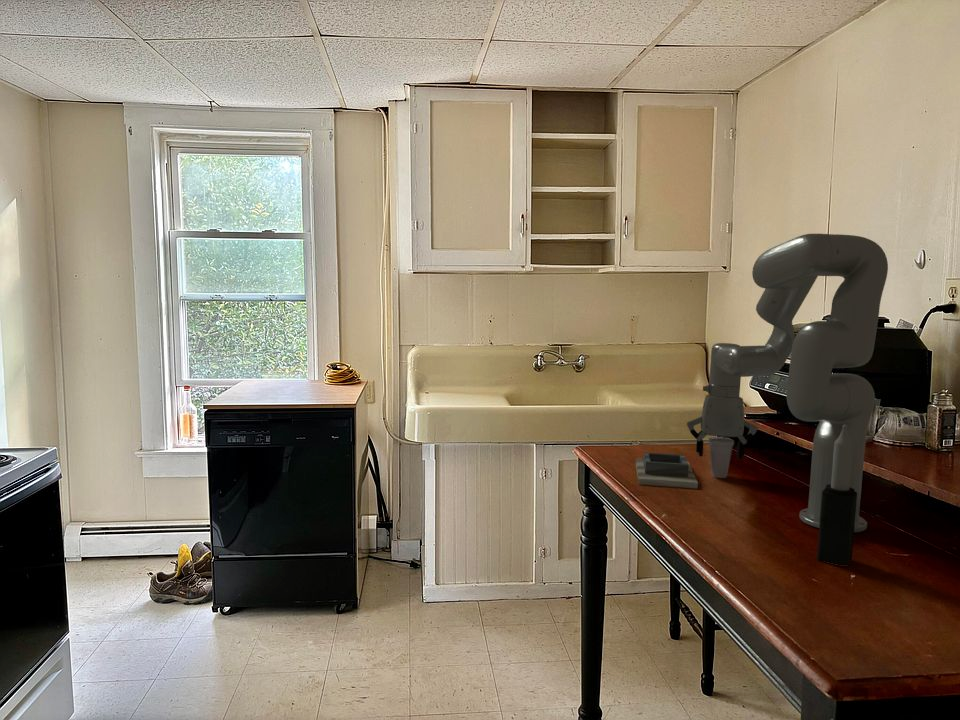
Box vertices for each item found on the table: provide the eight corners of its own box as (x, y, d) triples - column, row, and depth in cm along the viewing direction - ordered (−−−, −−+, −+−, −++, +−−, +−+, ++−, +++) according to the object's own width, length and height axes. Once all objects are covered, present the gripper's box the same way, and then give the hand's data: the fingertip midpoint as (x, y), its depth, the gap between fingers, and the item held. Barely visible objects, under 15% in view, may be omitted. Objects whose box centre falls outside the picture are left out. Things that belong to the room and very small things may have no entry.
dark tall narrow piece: (822, 551, 126) (832, 420, 123) (852, 559, 122) (864, 424, 119) (815, 560, 122) (826, 424, 119) (846, 568, 118) (858, 429, 116)
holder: (697, 488, 164) (698, 470, 163) (638, 484, 166) (639, 466, 166) (688, 467, 183) (688, 450, 183) (635, 463, 186) (636, 447, 185)
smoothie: (735, 479, 172) (739, 426, 170) (710, 479, 172) (713, 425, 170) (727, 472, 178) (730, 420, 176) (702, 472, 178) (705, 420, 177)
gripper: (690, 392, 170) (686, 457, 173) (763, 395, 167) (757, 462, 169) (687, 387, 178) (683, 450, 180) (756, 391, 175) (751, 455, 177)
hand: (719, 456), depth 175 cm, fingers open, 9 cm apart
